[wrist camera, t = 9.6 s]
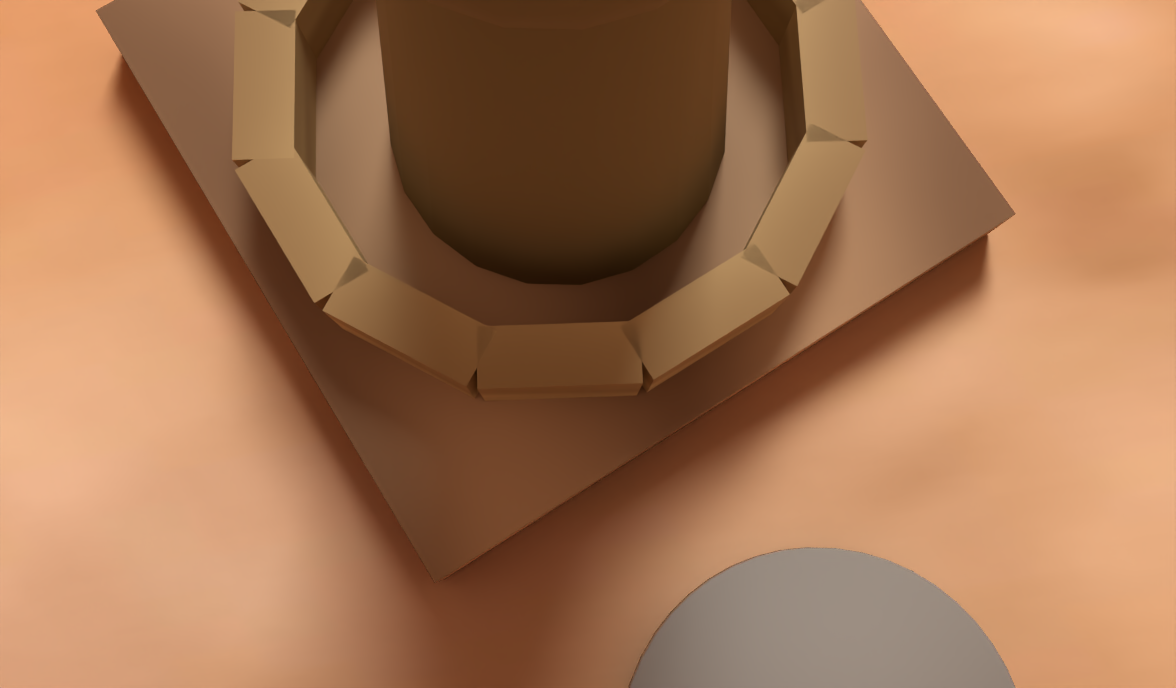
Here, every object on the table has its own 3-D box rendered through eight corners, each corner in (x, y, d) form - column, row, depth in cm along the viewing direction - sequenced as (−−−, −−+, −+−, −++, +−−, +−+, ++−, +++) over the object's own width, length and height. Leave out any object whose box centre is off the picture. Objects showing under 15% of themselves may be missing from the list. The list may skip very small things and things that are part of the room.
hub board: (443, 579, 19) (422, 587, 16) (123, 40, 20) (55, -34, 18) (989, 233, 20) (1053, 186, 17) (645, -247, 22) (656, -356, 19)
